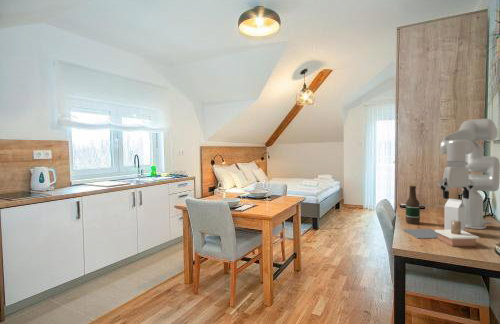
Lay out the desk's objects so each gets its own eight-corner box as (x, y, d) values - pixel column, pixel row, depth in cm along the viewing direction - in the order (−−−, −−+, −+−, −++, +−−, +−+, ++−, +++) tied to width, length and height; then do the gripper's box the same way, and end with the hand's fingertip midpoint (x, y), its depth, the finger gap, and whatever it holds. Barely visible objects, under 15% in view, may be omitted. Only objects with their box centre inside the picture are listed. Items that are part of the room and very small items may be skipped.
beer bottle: (419, 225, 173) (419, 187, 172) (405, 223, 177) (405, 186, 176) (419, 222, 180) (419, 185, 179) (406, 220, 184) (405, 184, 183)
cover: (459, 230, 147) (459, 218, 146) (479, 238, 134) (479, 224, 133) (434, 231, 147) (434, 218, 147) (451, 239, 134) (451, 225, 134)
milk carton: (458, 235, 152) (458, 200, 152) (444, 231, 159) (444, 198, 158) (465, 232, 156) (465, 199, 155) (451, 229, 162) (451, 197, 161)
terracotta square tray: (459, 239, 146) (459, 231, 146) (475, 246, 135) (475, 238, 135) (437, 239, 146) (437, 231, 146) (452, 246, 135) (452, 238, 135)
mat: (430, 229, 164) (430, 228, 164) (448, 238, 148) (448, 237, 148) (402, 230, 164) (402, 229, 164) (417, 238, 148) (417, 237, 148)
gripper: (468, 164, 142) (467, 197, 143) (433, 164, 143) (433, 197, 144) (479, 164, 135) (479, 199, 135) (443, 165, 135) (443, 200, 136)
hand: (455, 198), depth 139 cm, fingers open, 9 cm apart
